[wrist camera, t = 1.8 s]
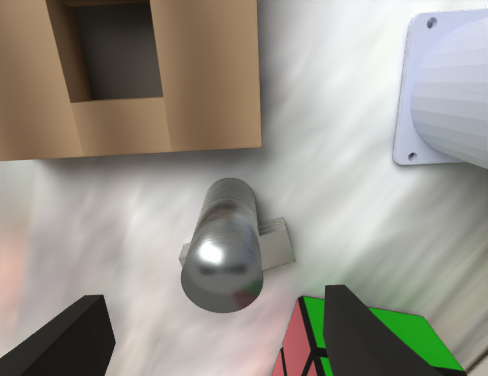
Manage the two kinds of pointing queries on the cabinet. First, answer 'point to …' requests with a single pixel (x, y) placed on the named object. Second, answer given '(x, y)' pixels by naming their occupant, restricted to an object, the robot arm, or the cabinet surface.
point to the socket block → (127, 77)
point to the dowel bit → (225, 250)
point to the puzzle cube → (314, 351)
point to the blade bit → (266, 244)
